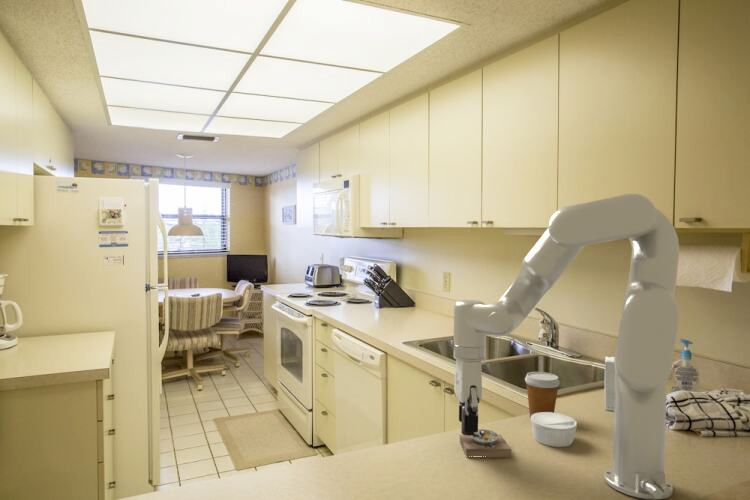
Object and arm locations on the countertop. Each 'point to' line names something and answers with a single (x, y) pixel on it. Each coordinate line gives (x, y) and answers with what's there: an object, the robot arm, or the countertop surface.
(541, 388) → the disposable coffee cup
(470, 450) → the level stand
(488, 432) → the capstan dial
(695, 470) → the countertop surface
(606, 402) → the skincare box
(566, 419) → the ramekin
